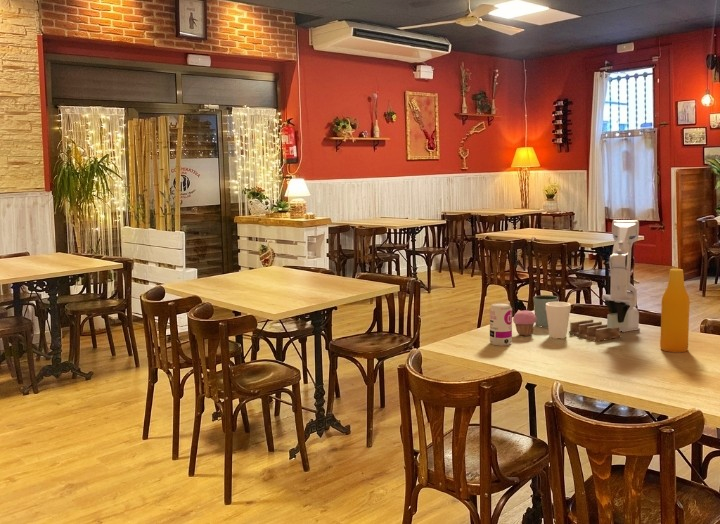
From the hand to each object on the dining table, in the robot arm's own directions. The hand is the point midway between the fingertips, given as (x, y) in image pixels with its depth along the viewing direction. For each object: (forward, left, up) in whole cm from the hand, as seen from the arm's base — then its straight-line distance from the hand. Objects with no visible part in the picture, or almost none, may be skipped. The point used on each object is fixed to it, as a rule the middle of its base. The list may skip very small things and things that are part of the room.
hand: (617, 321), depth 270 cm
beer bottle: (-9, +18, -8) cm, 22 cm away
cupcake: (+22, -27, -8) cm, 36 cm away
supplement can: (+38, -21, -8) cm, 44 cm away
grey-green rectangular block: (0, 0, -2) cm, 2 cm away
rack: (0, -12, -8) cm, 14 cm away
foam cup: (+13, -18, -8) cm, 24 cm away
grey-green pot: (+4, -36, -8) cm, 37 cm away
